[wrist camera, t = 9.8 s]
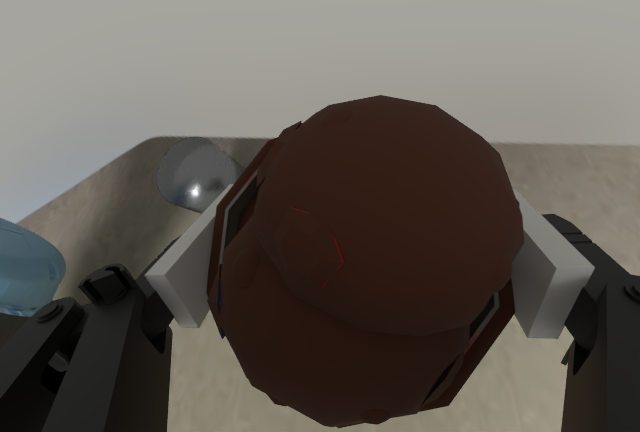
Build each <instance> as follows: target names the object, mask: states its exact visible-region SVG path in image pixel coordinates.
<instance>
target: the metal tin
mask: <svg viewBox="0 0 640 432" xmlns="http://www.w3.org/2000/svg"><path fill="white" fill-rule="evenodd" d="M244 171H245V168H244V167H243V166H241V165H240V164H239V163H238V162H236V161H235V160H234V159H232V158H231V157H230V156H229V155H227V154H226V153H225V152H224V151H222V150H221V149H220V148H218V147H217V146H216V145H215V144H213V143H212V142H211V141H209V140H207V139H205V138H202V137H189V138H186V139H183V140H181V141H179V142H177V143H176V144H174V145H173V146H172V147H171V148H170V149H169V150H168V151H167V152H166V154H165V155H164V157H163V158H162V160H161V162H160V165H159V168H158V173H157V184H158V188H159V191H160V193H161V195H162V196H163V197H164V198H165V199H166V200H167V201H168V202H170V203H172V204H174V205H177V206H180V207H183V208H186V209H189V210H192V211H195V212H198V213H201V214H202V213H203V212H204V211H205V210H206V209H207V208H208V207H209V206H210V205H211V204H212V203H213V202H214V201H215V200H216V198H217V197H218V196H219V195H220V194H221V193H222V192H223V191H224V190H225V189H226V188H227V187H228V186H229V185H230V184H234V183H235V182H236V181H237V180H238V178H239V177H240V176H241V175H242V173H243V172H244Z"/></svg>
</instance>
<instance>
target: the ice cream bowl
mask: <svg viewBox="0 0 640 432" xmlns="http://www.w3.org/2000/svg"><path fill="white" fill-rule="evenodd" d="M523 244H524V232H523V217H522V213H521V211H520V208H519V201H518V200H517V199H516V197H515V194H514V192H513V189H512V186H511V183H510V181H509V178H508V175H507V172H506V170H505V167H504V164H503V162H502V159H501V156H500V154H499V153H498V152H497V151H496V150H495V149H494V148H493V147H492V146H491V145H490V144H489V143H488V142H487V141H486V140H485V139H484V138H483V137H481V136H480V135H479V134H477V133H475V132H474V131H473V130H471V129H469V128H468V127H467V126H465V125H464V124H462V123H461V122H459V121H458V120H457V119H455V118H453V117H452V116H451V115H449V114H448V113H446V112H445V111H443V110H442V109H440V108H439V107H437V106H436V105H430V104H425V103H420V102H414V101H409V100H404V99H398V98H393V97H387V96H382V95H379V96H374V97H369V98H364V99H359V100H353V101H348V102H343V103H338V104H332V105H329V106H327V107H325V108H324V109H322V110H321V111H319V112H317V113H315V114H314V115H313V116H311V117H310V118H309V119H308V120H306V121H305V122H304V123H301V121H300V122H298V123H296V124H294V125H292V126H290V127H288V128H286V129H284V130H283V131H282V133H281V134H280V135H279V137H277V138H275V139H272V140H269V141H268V142H267V143H266V144H265V145H264V147H263V148H262V149H261V151H260V152H259V153H258V154H257V156H256V157H255V158H254V159H253V161H252V162H251V163H250V164H249V166H248V167H247V168H246V169H245V171H244V172H243V173H242V175H241V176H240V177H239V178H238V180H237V181H236V182H235V183H234V185H233V186H232V187H231V188H230V190H229V191H228V192H227V193H226V195H225V196H224V197H223V198H222V200H221V201H220V202H219V204H218V205H217V207H216V215H215V223H214V231H213V239H212V247H211V255H210V263H209V271H208V280H207V296H208V300H207V302H208V305H209V307H210V310H211V312H212V315H213V317H214V320H215V322H216V325H217V327H218V330H219V333H220V335H221V338H222V339H223V338H224V336H226V337H227V339H228V341H229V343H230V345H231V347H232V349H233V351H234V353H235V355H236V357H237V359H238V361H239V363H240V365H241V367H242V369H243V371H244V373H245V375H246V377H247V378H248V380H249V381H250V383H251V385H252V386H253V387H255V388H257V389H259V390H260V391H262V392H264V393H266V394H267V395H268V396H269V398H270V399H271V400H272V401H273V402H274V404H277V405H282V406H289V407H291V408H293V409H295V410H297V411H298V412H300V413H302V414H304V415H306V416H307V417H309V418H311V419H313V420H315V421H317V422H318V423H320V424H322V425H324V426H328V427H335V426H336V427H338V428H342V427H347V426H352V425H357V424H361V423H369V424H380V423H382V422H385V421H387V420H388V419H390V418H393V417H399V416H406V415H412V414H417V413H418V412H420V411H425V410H430V409H435V408H440V407H445V406H449V404H450V403H451V402H452V400H453V399H454V397H455V396H456V395H457V393H458V392H459V391H460V389H461V388H462V386H463V385H464V384H465V382H466V381H467V379H468V378H469V377H470V375H471V374H472V372H473V371H474V370H475V368H476V367H477V365H478V364H479V363H480V361H481V360H482V358H483V357H484V356H485V354H486V353H487V351H488V350H489V349H490V347H491V346H492V344H493V343H494V342H495V340H496V339H497V337H498V336H499V335H500V333H501V332H502V330H503V329H504V328H505V326H506V325H507V323H508V322H509V321H510V319H511V318H512V316H513V315H514V314H515V305H514V295H513V286H512V280H511V274H512V265H513V260H514V259H515V257H516V256H517V254H518V252H519V251H520V249H521V247H522V246H523Z"/></svg>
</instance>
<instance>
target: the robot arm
mask: <svg viewBox="0 0 640 432" xmlns="http://www.w3.org/2000/svg"><path fill="white" fill-rule="evenodd" d="M233 185H234V184H230V185H229V186H228V187H227V188H226V189H225V190H224V191H223V192H222V193H221V194H220V195H219V196H218V197H217V198H216V200H215V201H214V202H213V203H212V204H211V205H210V206H209V207H208V208H207V209H206V210H205V211H204V212H203V213H202V214H201V215H200V217H199V218H198V219H197V220H196V221H195V222H194V223H193V224H192V225H191V226H190V227H189V228H188V229H187V230H186V231H185V233H184V234H183V235H181V236H180V237H178V238H177V239H175V240H174V241H172V242H171V243H170V244H169V245H168V246H167V247H166V248H165V249H164V252H162V253H161V254H160V255H159V256H158V258H156V259H155V260H154V261H153V262H152V263H151V264H150V265H149V266H148V267H147V268H146V269H145V270H144V271H143V272H142V273H141V274H140V276H139V277H138V278H137V279H136V280H134V278H133V277H132V276H131V274H130V273H129V272H128V270H127V269H126V268H125V266H124V265H122V264H112V265H108V266H105V267H103V268H101V269H98V270H97V271H95V272H93V273H92V274H90V275H89V276H87V277H86V278H85V279H84V280H83V281H82V282H81V283H80V284H79V286H78V287H79V288H80V289H81V290H82V292H83V293H84V294H85V295H86V296H87V297H88V298H89V299H90V300H91V301H92V302H93V303H91V304H87V305H83V306H80V305H79V304H78V303H77V302H76V301H75V299H73V298H71V297H66V298H61V299H58V300H55V301H53V300H52V299H53V297H54V294H55V292H56V290H57V288H58V286H59V284H60V282H61V280H62V279H63V277H64V274H65V270H66V263H65V260H64V258H63V256H62V254H61V253H60V252H59V250H58V249H57V248H56V247H55V246H53V245H52V244H51V243H50V242H48V241H47V240H45V239H44V238H42V237H41V236H39V235H37V234H35V233H33V232H31V231H29V230H27V229H25V228H23V227H21V226H19V225H17V224H14V223H12V222H9V221H7V220H4V219H2V218H0V432H167V418H168V401H169V384H170V367H171V350H172V330H171V328H170V327H169V326H168V325H169V324H170V323H171V321H172V320H173V318H175V320H176V321H177V322H178V324H179V325H180V327H181V328H199V327H200V325H201V324H202V322H203V320H204V318H205V317H206V315H207V313H208V311H209V310H210V307H209V305H208V302H207V300H208V296H207V280H208V271H209V263H210V255H211V247H212V239H213V231H214V223H215V215H216V207H217V205H218V204H219V202H220V201H221V200H222V198H223V197H224V196H225V195H226V193H227V192H228V191H229V190H230V188H231V187H232V186H233ZM512 189H513V192H514V194H515V197H516V199H517V200H518V201H519V208H520V211H521V213H522V217H523V232H524V244H523V246H522V247H521V249H520V251H519V252H518V254H517V256H516V257H515V259H514V260H513V265H512V274H511V280H512V286H513V295H514V305H515V316H516V318H517V320H518V321H519V323H520V325H521V327H522V329H523V331H524V332H525V334H526V336H527V338H555V339H558V337H559V336H560V334H561V332H562V330H563V328H564V326H566V327H567V329H568V330H569V332H570V333H571V334H572V336H573V337H574V340H573V342H572V344H571V345H570V347H569V349H568V351H567V352H566V354H565V356H564V358H563V359H562V361H561V363H562V364H564V365H566V364H567V363H568V369H567V379H566V389H565V399H564V408H563V418H562V428H561V432H640V276H636V275H630V274H629V273H628V272H627V271H626V270H625V269H624V268H622V267H621V266H620V265H619V264H618V263H617V262H616V261H614V260H613V259H612V258H611V257H610V256H609V255H608V254H606V253H605V252H604V251H603V250H602V249H601V248H600V247H598V246H597V245H596V244H595V243H592V240H591V239H589V238H588V237H587V236H586V235H585V234H582V232H581V231H580V230H579V229H578V228H577V227H576V226H575V225H573V224H572V223H571V222H569V221H567V220H565V219H563V218H561V217H559V216H557V215H555V214H543V215H541V214H540V213H539V212H538V211H537V210H536V209H535V208H534V207H533V206H532V205H531V204H530V203H529V202H528V201H527V200H526V199H525V198H524V197H523V196H522V195H521V194H520V193H519V192H517V191H516V190H515V189H514V188H513V187H512Z"/></svg>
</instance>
